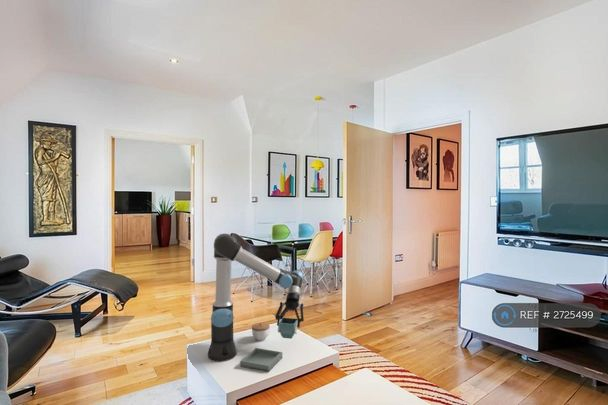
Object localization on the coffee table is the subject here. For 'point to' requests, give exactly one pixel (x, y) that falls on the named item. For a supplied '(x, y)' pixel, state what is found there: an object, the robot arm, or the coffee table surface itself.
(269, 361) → the tray
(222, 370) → the coffee table surface
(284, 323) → the flower pot
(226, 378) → the coffee table surface
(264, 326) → the lidded jar
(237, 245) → the robot arm
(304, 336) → the coffee table surface
